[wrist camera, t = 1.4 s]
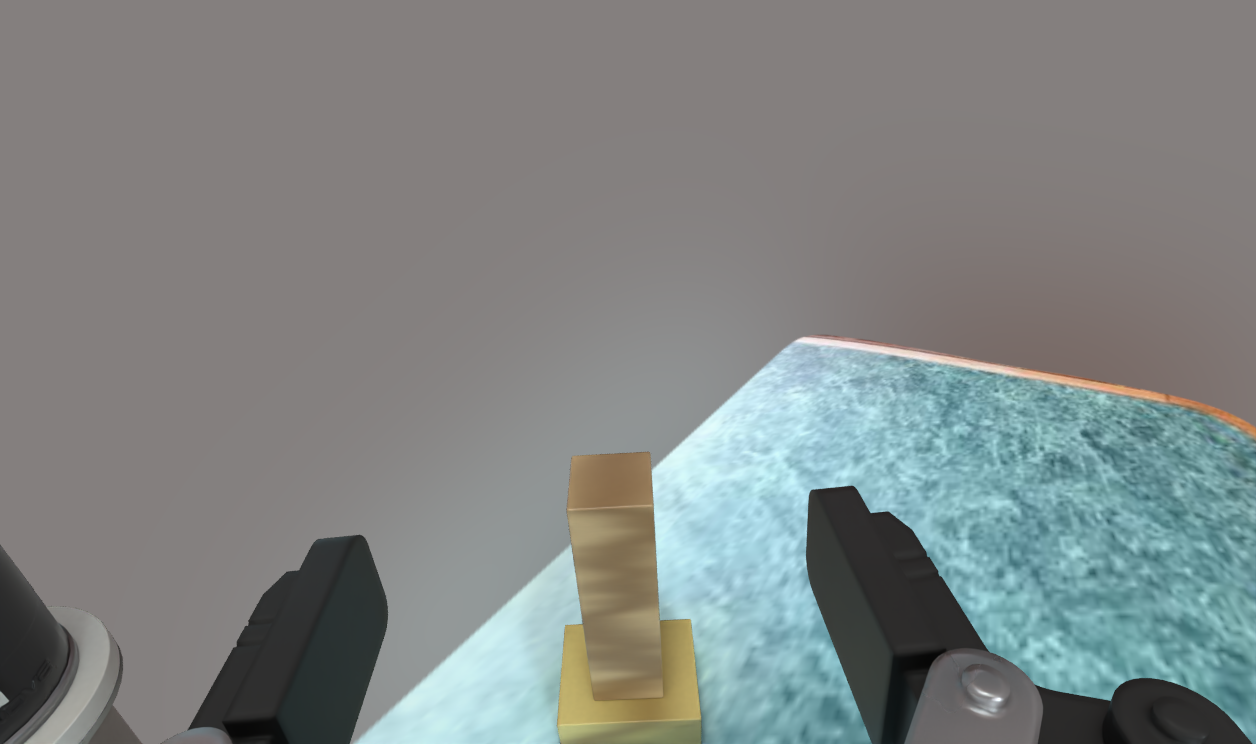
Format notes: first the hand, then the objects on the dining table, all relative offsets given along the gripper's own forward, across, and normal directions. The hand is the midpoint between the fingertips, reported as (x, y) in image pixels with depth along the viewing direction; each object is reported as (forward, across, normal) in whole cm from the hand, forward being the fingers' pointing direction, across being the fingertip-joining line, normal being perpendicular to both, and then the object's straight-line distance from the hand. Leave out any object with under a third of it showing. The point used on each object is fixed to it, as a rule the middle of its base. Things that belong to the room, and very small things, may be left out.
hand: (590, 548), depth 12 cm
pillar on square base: (+12, 0, +19) cm, 22 cm away
